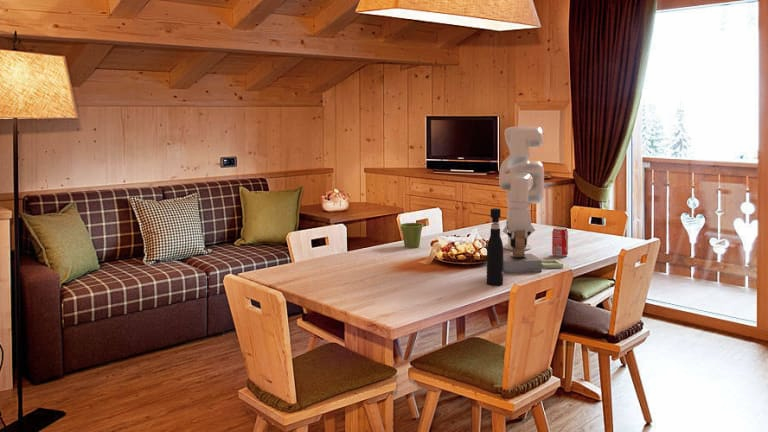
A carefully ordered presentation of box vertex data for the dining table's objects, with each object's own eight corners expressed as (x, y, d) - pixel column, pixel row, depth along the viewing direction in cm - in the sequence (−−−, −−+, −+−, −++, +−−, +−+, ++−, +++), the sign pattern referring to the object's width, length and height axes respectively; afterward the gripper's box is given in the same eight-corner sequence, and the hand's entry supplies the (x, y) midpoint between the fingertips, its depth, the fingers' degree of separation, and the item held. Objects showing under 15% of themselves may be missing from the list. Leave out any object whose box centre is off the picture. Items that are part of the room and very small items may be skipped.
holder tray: (536, 264, 332) (536, 260, 332) (555, 263, 333) (556, 259, 333) (543, 268, 323) (543, 264, 323) (563, 267, 325) (563, 263, 324)
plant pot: (411, 243, 382) (411, 221, 380) (428, 246, 374) (428, 224, 372) (394, 247, 374) (394, 224, 372) (411, 250, 366) (411, 227, 364)
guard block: (495, 266, 329) (495, 254, 329) (531, 264, 331) (531, 253, 331) (504, 273, 316) (504, 261, 315) (541, 271, 318) (541, 260, 317)
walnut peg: (512, 254, 325) (513, 218, 322) (521, 254, 326) (522, 217, 323) (515, 256, 321) (515, 219, 318) (524, 256, 322) (525, 219, 319)
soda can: (568, 257, 345) (568, 229, 343) (551, 257, 347) (552, 229, 345) (567, 254, 352) (568, 226, 350) (551, 253, 354) (552, 226, 352)
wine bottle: (485, 282, 301) (485, 208, 296) (500, 282, 301) (501, 207, 297) (488, 286, 295) (489, 210, 290) (504, 285, 295) (505, 210, 290)
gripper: (535, 202, 324) (534, 244, 328) (497, 204, 322) (497, 246, 325) (541, 205, 317) (540, 248, 320) (502, 207, 315) (501, 250, 318)
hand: (518, 246), depth 323 cm, fingers closed on walnut peg, 4 cm apart
